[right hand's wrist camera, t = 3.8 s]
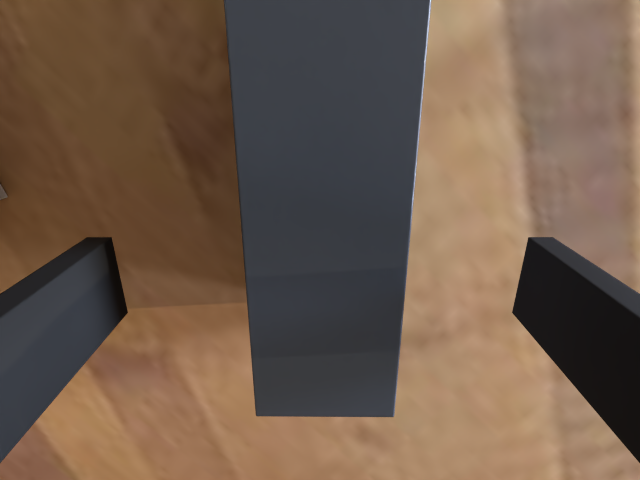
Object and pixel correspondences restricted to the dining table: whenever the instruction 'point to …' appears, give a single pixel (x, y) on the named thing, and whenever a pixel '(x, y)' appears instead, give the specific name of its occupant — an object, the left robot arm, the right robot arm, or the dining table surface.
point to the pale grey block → (2, 193)
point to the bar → (326, 194)
